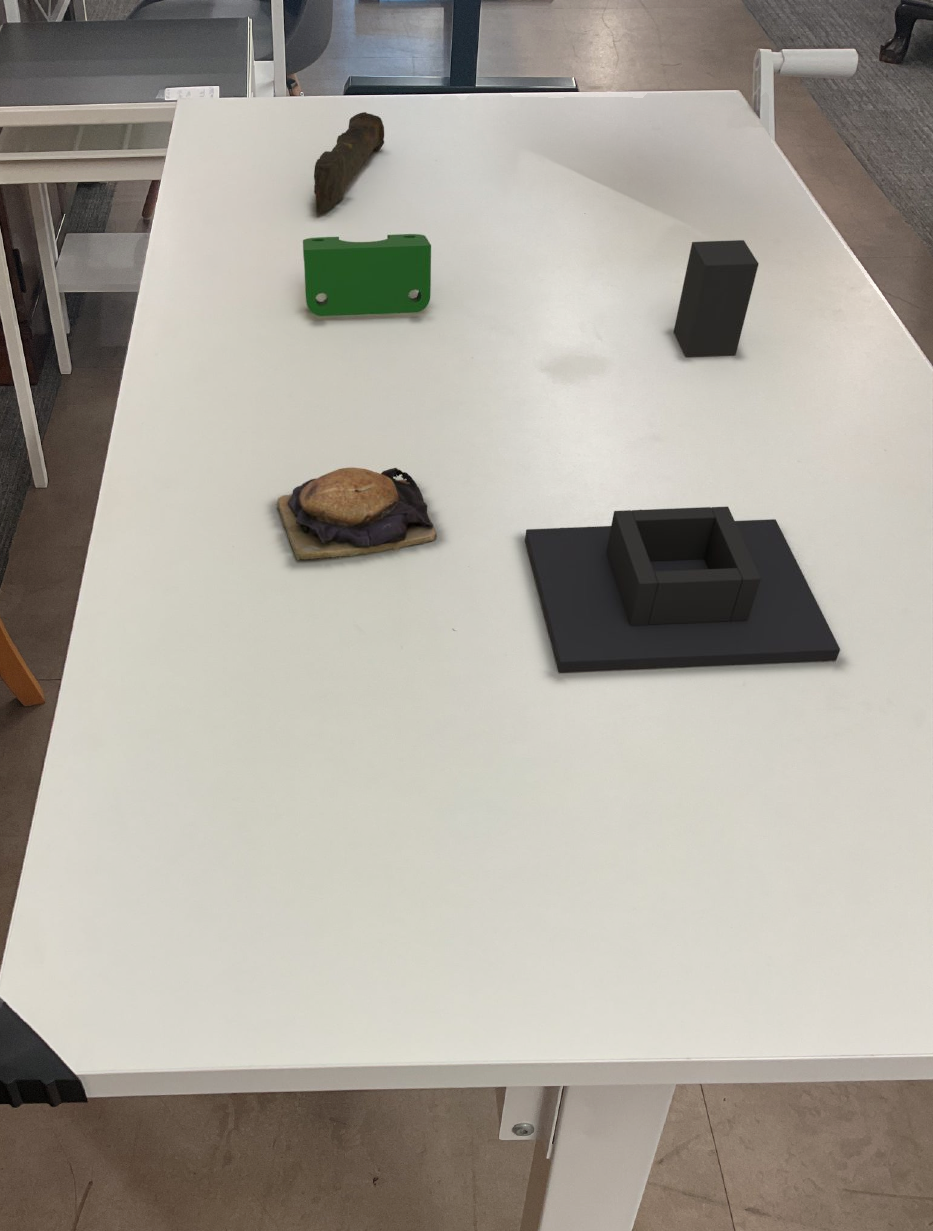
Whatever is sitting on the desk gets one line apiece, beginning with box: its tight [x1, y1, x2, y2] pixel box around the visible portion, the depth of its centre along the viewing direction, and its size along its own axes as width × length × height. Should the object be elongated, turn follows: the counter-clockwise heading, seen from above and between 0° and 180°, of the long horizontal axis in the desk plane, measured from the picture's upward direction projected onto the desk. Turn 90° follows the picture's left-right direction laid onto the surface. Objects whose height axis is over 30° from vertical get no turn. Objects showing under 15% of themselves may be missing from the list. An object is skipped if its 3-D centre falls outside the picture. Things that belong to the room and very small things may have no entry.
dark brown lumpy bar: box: [313, 111, 385, 215], centre depth 126 cm, size 19×4×5 cm, turn 161°
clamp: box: [302, 233, 432, 317], centre depth 107 cm, size 12×6×9 cm, turn 87°
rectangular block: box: [673, 239, 760, 358], centre depth 101 cm, size 4×4×8 cm
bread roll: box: [276, 466, 438, 561], centre depth 85 cm, size 11×8×4 cm
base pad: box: [524, 506, 841, 674], centre depth 79 cm, size 18×14×4 cm
